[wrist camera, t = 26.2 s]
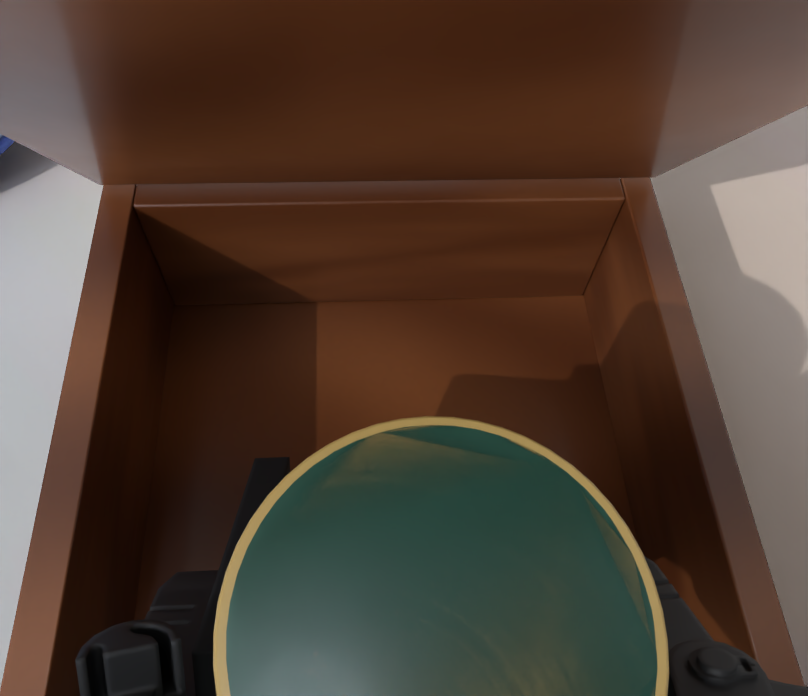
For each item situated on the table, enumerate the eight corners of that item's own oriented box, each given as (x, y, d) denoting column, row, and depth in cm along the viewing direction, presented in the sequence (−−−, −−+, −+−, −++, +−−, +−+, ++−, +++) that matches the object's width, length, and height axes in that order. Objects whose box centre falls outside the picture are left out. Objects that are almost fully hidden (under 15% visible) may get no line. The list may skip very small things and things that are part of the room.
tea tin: (517, 821, 16) (728, 884, 7) (296, 836, 16) (190, 926, 6) (491, 594, 19) (619, 407, 9) (300, 604, 18) (227, 420, 9)
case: (736, 893, 18) (885, 942, 12) (65, 945, 17) (-69, 1020, 11) (596, 289, 27) (650, 174, 21) (156, 299, 26) (103, 182, 20)
